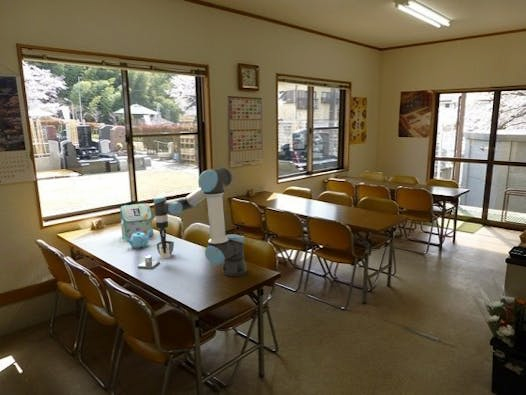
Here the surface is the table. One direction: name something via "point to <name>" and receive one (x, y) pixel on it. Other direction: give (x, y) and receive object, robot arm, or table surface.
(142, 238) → the teapot
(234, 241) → the robot arm
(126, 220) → the lunch bag
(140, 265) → the hub
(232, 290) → the table surface
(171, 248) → the flower pot
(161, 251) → the knob
